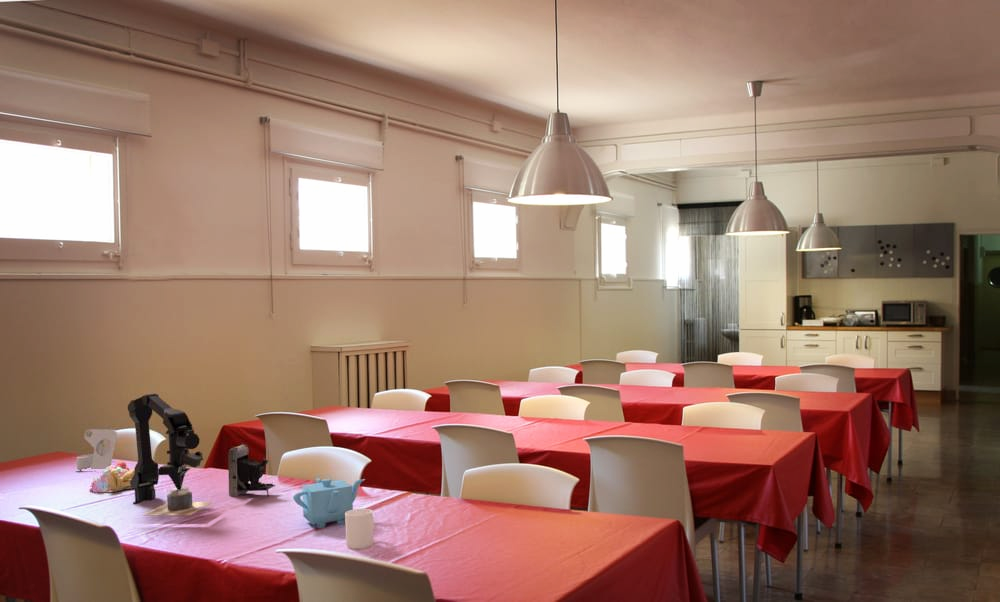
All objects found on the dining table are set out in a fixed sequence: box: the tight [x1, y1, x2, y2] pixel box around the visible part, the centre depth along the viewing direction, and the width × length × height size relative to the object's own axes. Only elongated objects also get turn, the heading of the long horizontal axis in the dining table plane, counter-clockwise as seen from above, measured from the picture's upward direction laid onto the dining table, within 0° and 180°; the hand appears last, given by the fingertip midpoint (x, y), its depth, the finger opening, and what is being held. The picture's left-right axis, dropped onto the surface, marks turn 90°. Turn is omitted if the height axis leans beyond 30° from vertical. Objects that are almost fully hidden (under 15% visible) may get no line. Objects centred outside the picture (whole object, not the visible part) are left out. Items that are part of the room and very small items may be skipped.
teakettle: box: [293, 477, 366, 529], centre depth 285 cm, size 19×19×15 cm
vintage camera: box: [228, 443, 276, 497], centre depth 326 cm, size 10×16×20 cm, turn 78°
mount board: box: [143, 501, 213, 516], centre depth 307 cm, size 18×18×1 cm
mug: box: [344, 508, 375, 550], centre depth 260 cm, size 12×8×10 cm
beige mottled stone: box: [169, 486, 190, 497], centre depth 308 cm, size 6×7×3 cm
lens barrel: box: [166, 491, 193, 511], centre depth 308 cm, size 8×8×5 cm
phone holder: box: [76, 428, 118, 470], centre depth 389 cm, size 17×10×18 cm, turn 77°
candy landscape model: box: [88, 461, 134, 493], centre depth 353 cm, size 25×24×9 cm
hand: (179, 489), depth 308 cm, fingers closed, pressing on beige mottled stone
